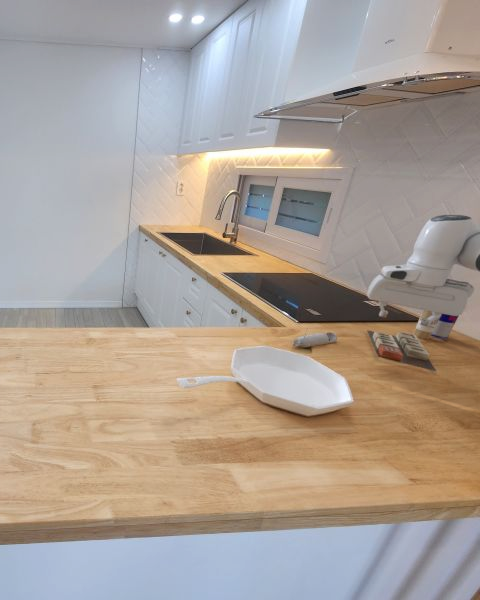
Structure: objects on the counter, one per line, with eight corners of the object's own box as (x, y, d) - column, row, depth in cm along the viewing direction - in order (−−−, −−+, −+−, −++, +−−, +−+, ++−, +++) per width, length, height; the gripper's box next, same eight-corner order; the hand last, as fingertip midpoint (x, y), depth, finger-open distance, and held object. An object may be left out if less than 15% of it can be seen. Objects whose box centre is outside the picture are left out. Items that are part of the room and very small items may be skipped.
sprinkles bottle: (414, 339, 114) (431, 303, 109) (408, 334, 118) (425, 298, 113) (431, 342, 113) (450, 306, 108) (425, 337, 117) (442, 301, 112)
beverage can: (431, 339, 115) (451, 298, 110) (420, 332, 120) (438, 293, 115) (450, 342, 114) (471, 301, 108) (438, 334, 119) (458, 295, 113)
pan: (371, 412, 77) (382, 389, 75) (211, 448, 64) (218, 421, 62) (280, 355, 100) (286, 336, 97) (149, 373, 87) (152, 352, 85)
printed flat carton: (413, 340, 112) (415, 334, 111) (426, 360, 99) (430, 354, 99) (395, 336, 114) (398, 331, 113) (406, 355, 101) (409, 349, 101)
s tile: (397, 354, 102) (399, 348, 101) (400, 361, 98) (403, 354, 98) (378, 350, 104) (380, 344, 103) (380, 356, 100) (383, 350, 100)
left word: (389, 340, 111) (392, 335, 110) (396, 353, 103) (399, 347, 102) (372, 336, 113) (374, 331, 112) (377, 348, 105) (380, 342, 104)
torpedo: (325, 338, 112) (331, 320, 109) (339, 345, 108) (346, 326, 105) (285, 345, 106) (290, 326, 103) (298, 352, 102) (305, 333, 99)
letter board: (414, 343, 112) (415, 340, 112) (435, 373, 94) (437, 371, 94) (366, 332, 118) (366, 330, 118) (377, 358, 100) (378, 356, 100)
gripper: (472, 280, 89) (448, 327, 95) (375, 265, 99) (358, 308, 104) (482, 286, 84) (456, 335, 90) (379, 270, 94) (361, 315, 99)
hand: (403, 320), depth 97 cm, fingers open, 8 cm apart
